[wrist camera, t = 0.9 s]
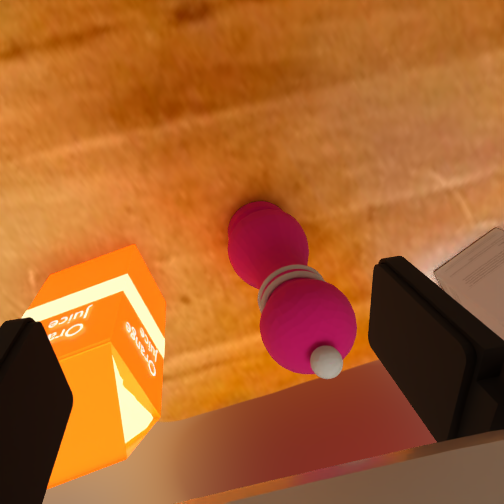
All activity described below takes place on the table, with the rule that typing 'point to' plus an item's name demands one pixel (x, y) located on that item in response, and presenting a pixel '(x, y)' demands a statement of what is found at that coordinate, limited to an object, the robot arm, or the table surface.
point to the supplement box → (479, 280)
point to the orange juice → (104, 356)
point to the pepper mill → (290, 292)
